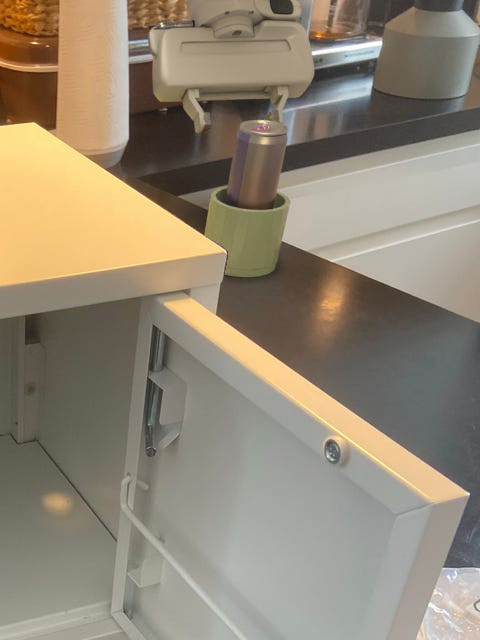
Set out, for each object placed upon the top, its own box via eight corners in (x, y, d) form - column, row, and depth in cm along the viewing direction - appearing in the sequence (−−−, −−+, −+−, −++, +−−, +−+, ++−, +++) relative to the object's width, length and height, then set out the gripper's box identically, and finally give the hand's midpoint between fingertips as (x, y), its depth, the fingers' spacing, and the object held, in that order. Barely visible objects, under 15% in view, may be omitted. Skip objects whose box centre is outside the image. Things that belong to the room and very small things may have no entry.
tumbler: (268, 249, 126) (281, 186, 120) (282, 278, 119) (297, 212, 113) (196, 247, 126) (206, 184, 120) (206, 276, 119) (217, 210, 113)
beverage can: (207, 254, 121) (228, 126, 111) (232, 242, 125) (255, 116, 114) (247, 267, 118) (272, 136, 108) (271, 254, 122) (299, 126, 112)
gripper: (153, 4, 114) (167, 116, 113) (312, 1, 117) (326, 111, 116) (138, 39, 120) (152, 146, 119) (289, 36, 123) (303, 140, 122)
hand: (239, 129), depth 118 cm, fingers open, 8 cm apart
